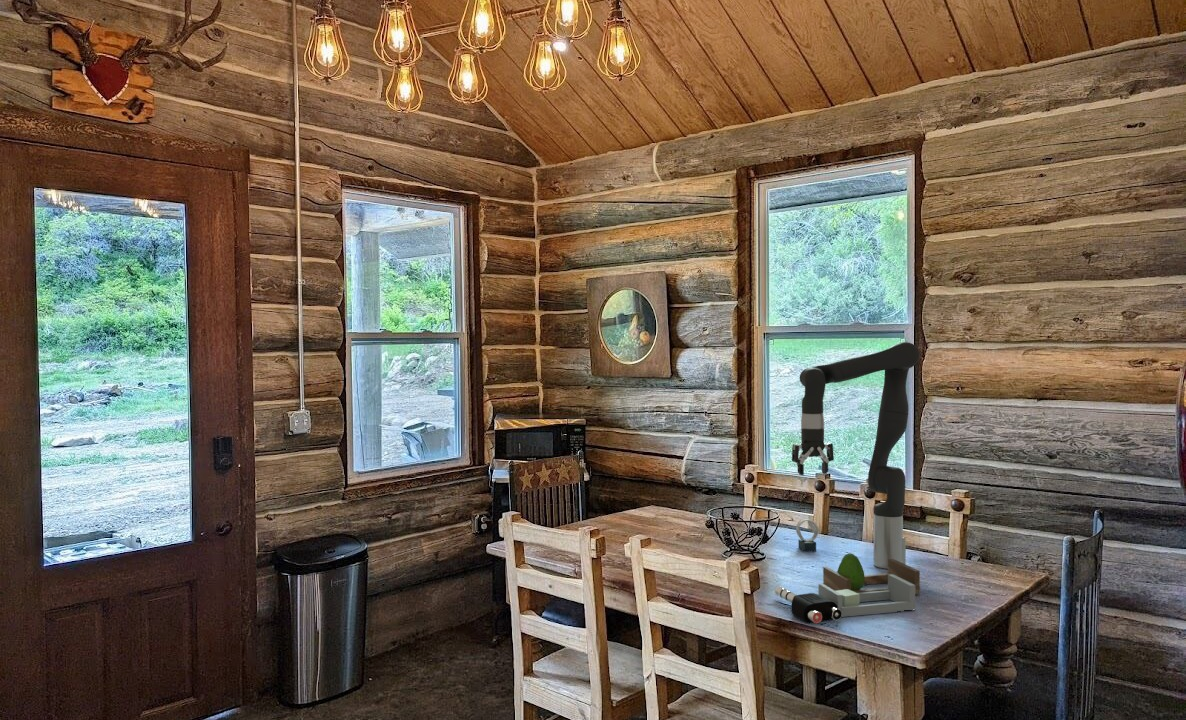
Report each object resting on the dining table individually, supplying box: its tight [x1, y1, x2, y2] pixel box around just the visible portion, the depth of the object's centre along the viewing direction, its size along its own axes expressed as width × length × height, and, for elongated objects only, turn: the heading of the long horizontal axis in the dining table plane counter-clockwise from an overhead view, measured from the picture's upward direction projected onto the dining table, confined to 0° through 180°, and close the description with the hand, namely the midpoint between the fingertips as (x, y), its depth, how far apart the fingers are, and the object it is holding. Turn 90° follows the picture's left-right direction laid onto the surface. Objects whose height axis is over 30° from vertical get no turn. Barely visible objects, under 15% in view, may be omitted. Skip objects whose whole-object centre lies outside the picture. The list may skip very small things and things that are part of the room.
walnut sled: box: [822, 559, 921, 595], centre depth 244 cm, size 24×14×7 cm, turn 102°
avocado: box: [836, 552, 865, 591], centre depth 242 cm, size 8×8×12 cm
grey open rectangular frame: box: [818, 574, 916, 618], centre depth 229 cm, size 24×11×7 cm, turn 102°
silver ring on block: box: [795, 518, 820, 553], centre depth 293 cm, size 6×8×11 cm
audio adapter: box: [774, 585, 842, 624], centre depth 228 cm, size 11×5×25 cm
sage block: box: [836, 589, 861, 607], centre depth 228 cm, size 5×5×5 cm
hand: (812, 474), depth 275 cm, fingers open, 8 cm apart
